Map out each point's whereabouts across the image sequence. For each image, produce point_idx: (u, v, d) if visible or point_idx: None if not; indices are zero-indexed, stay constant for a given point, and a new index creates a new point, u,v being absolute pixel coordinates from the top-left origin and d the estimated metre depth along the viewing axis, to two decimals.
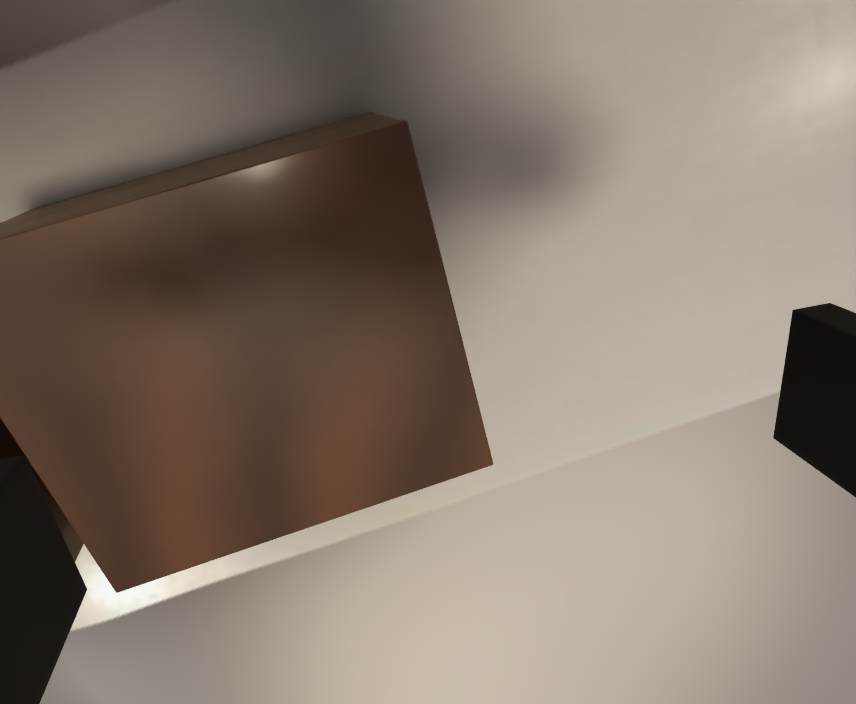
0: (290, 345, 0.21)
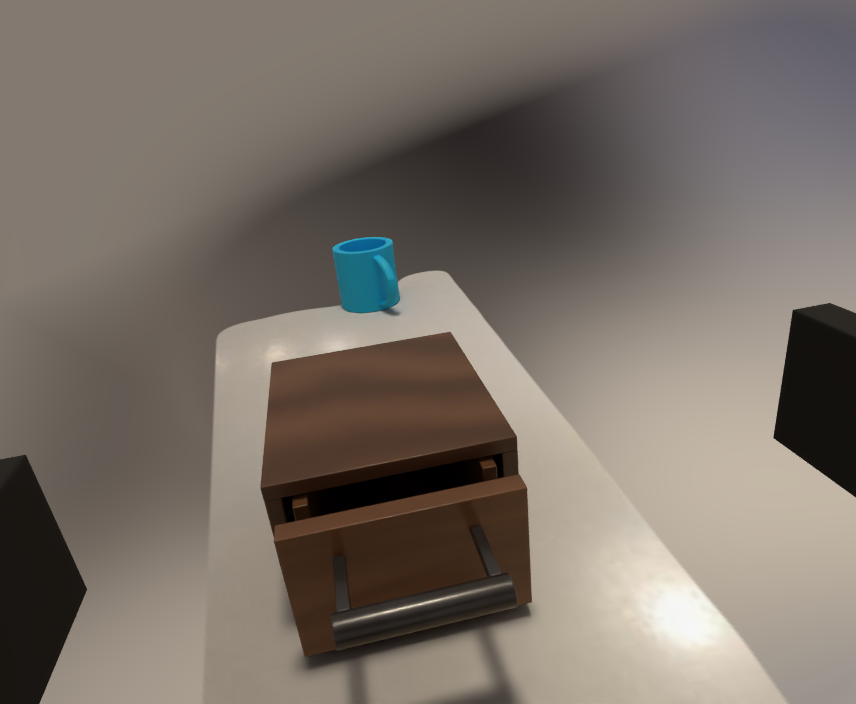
0: (359, 382, 0.41)
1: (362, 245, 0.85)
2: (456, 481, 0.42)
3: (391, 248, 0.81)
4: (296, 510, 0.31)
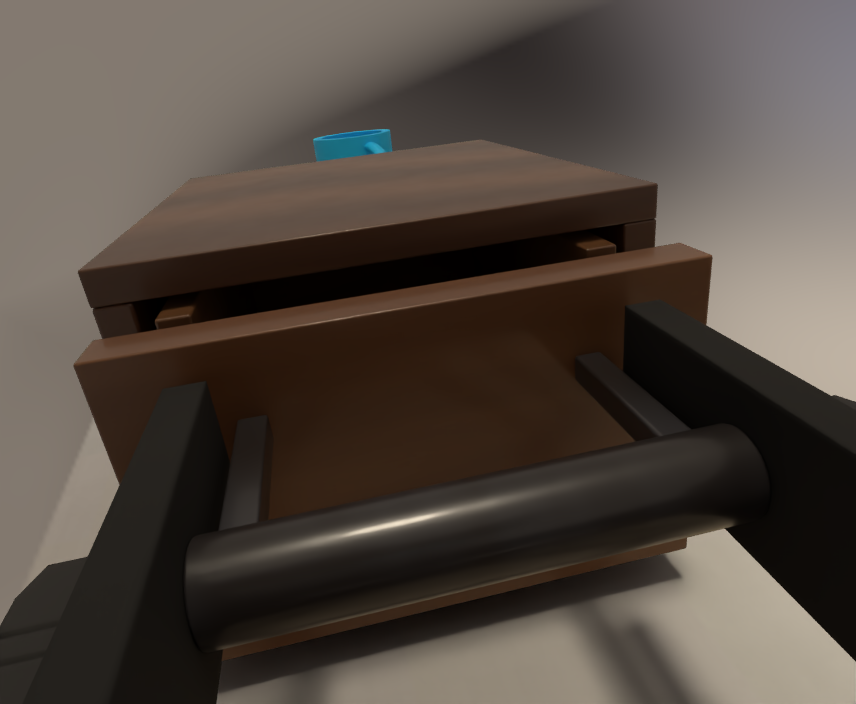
0: (329, 176, 0.23)
1: None
2: None
3: (388, 137, 0.63)
4: (164, 327, 0.13)
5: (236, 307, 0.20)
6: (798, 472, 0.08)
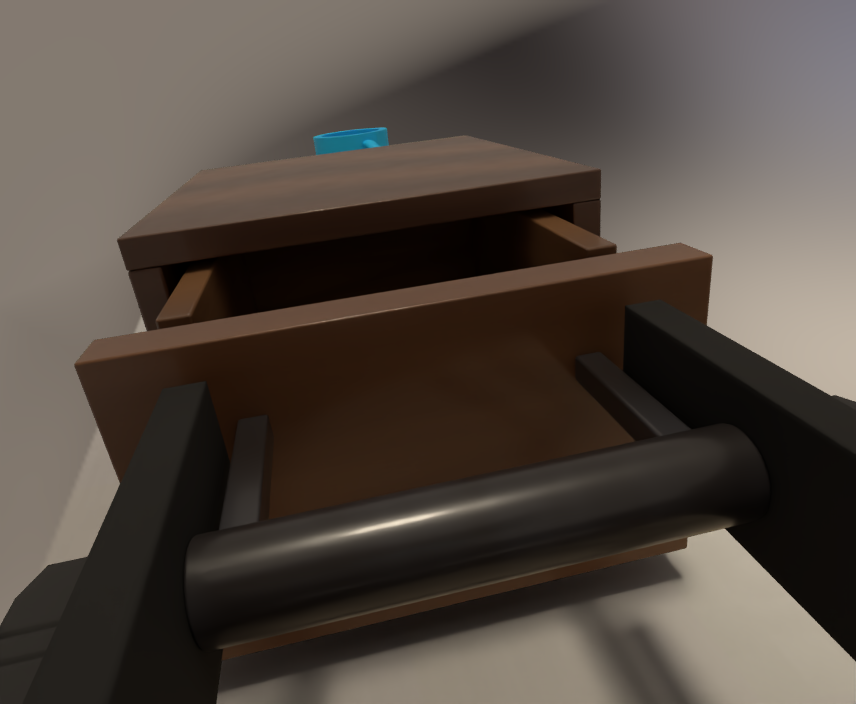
0: (326, 167, 0.26)
1: None
2: None
3: (385, 135, 0.66)
4: (164, 327, 0.13)
5: (237, 307, 0.20)
6: (798, 472, 0.08)
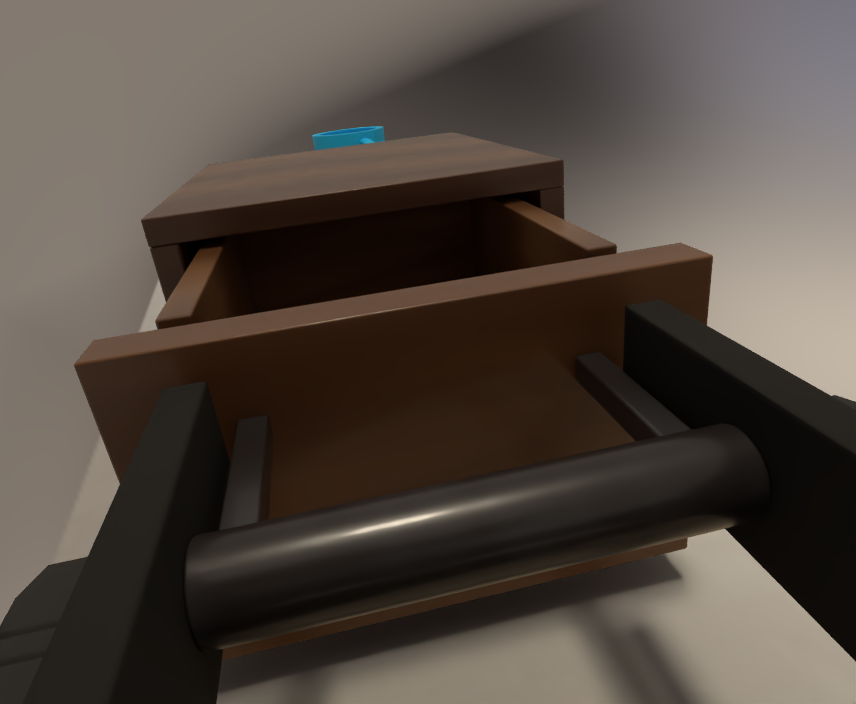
0: (323, 160, 0.28)
1: None
2: None
3: (382, 133, 0.68)
4: (164, 327, 0.13)
5: (237, 307, 0.20)
6: (798, 472, 0.08)
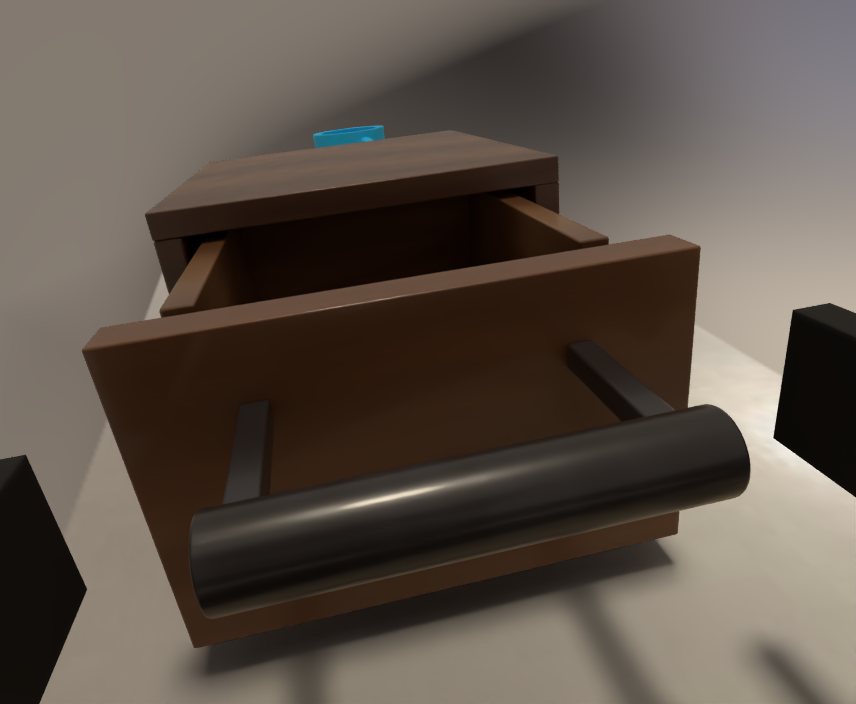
0: (323, 157, 0.29)
1: None
2: None
3: (382, 132, 0.69)
4: (168, 316, 0.14)
5: (238, 300, 0.20)
6: None
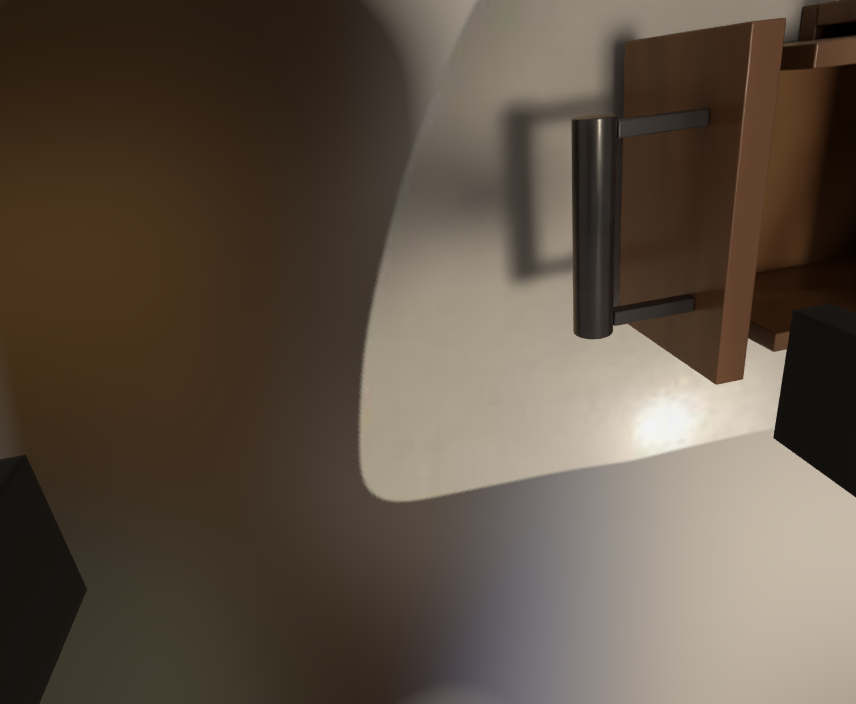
0: None
1: None
2: (823, 259, 0.30)
3: None
4: (811, 48, 0.20)
5: None
6: None
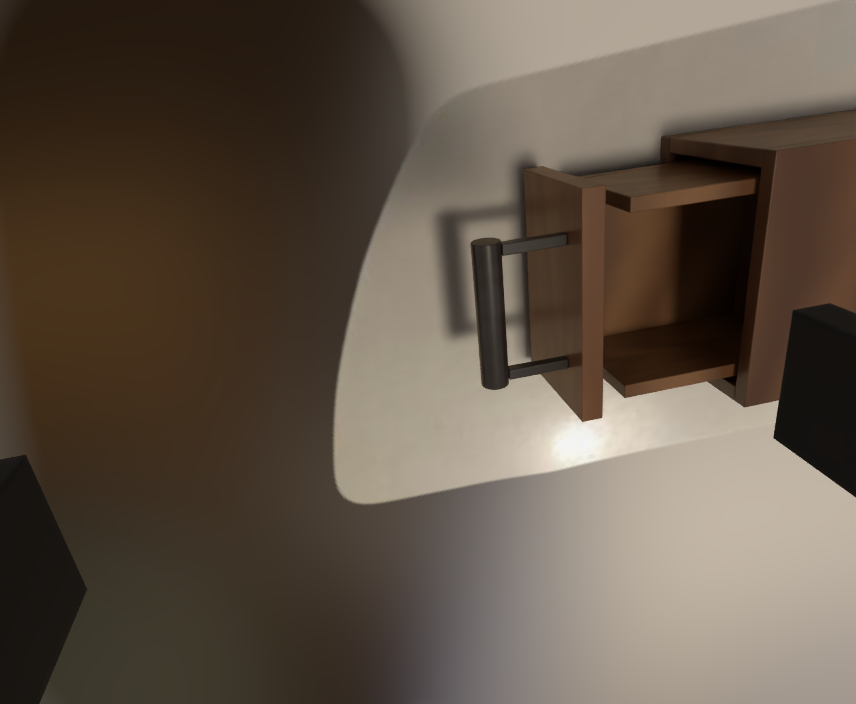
0: None
1: None
2: (687, 319, 0.40)
3: None
4: (628, 200, 0.29)
5: None
6: None
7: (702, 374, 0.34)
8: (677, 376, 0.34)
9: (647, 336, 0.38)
